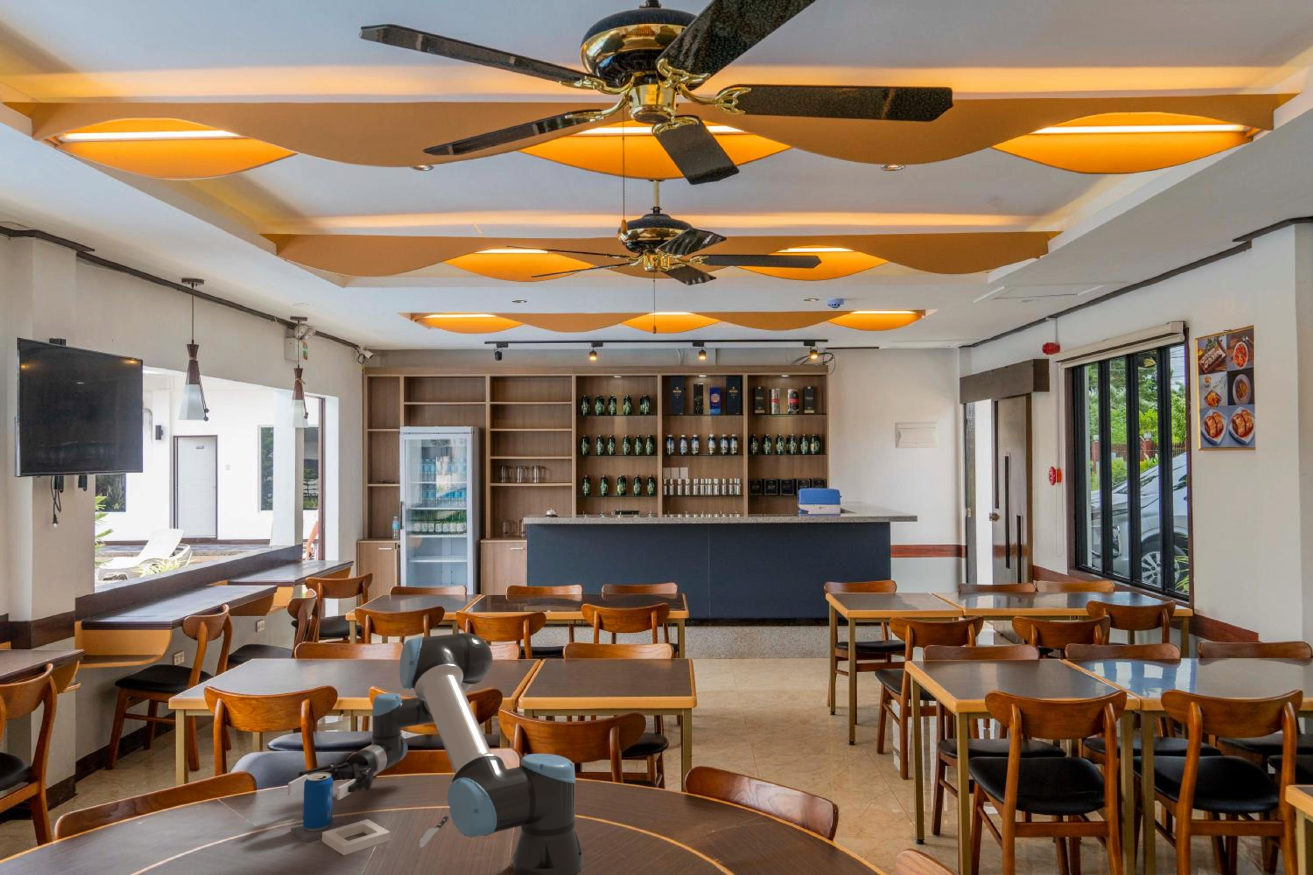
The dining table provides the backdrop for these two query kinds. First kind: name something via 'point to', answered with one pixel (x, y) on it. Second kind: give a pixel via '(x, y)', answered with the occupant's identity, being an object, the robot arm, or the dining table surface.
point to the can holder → (346, 847)
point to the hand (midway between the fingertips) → (313, 791)
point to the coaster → (312, 832)
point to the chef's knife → (431, 832)
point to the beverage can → (318, 801)
